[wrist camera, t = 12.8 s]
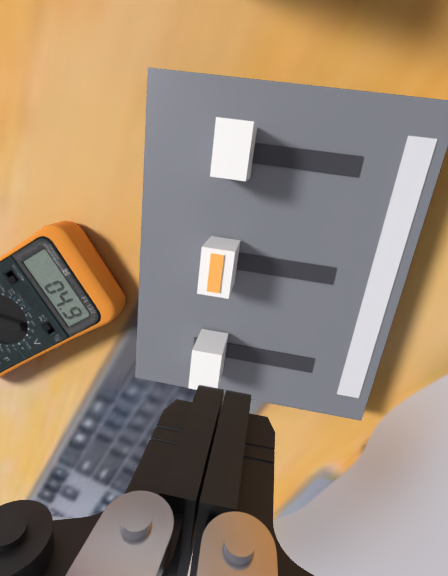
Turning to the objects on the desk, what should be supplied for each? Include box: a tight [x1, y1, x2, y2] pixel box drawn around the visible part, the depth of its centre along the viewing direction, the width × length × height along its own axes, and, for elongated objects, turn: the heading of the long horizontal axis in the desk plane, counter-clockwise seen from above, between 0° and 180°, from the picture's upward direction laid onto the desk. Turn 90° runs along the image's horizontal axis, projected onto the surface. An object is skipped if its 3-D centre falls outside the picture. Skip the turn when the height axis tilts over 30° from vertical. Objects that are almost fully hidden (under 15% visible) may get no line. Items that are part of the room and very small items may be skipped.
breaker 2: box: [210, 117, 257, 181], centre depth 21 cm, size 2×3×3 cm, turn 173°
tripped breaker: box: [197, 236, 240, 299], centre depth 23 cm, size 2×3×3 cm, turn 173°
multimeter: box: [0, 221, 126, 377], centre depth 31 cm, size 9×18×3 cm, turn 119°
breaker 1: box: [188, 329, 228, 390], centre depth 26 cm, size 2×3×3 cm, turn 173°
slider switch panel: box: [135, 68, 448, 421], centre depth 26 cm, size 18×22×3 cm
